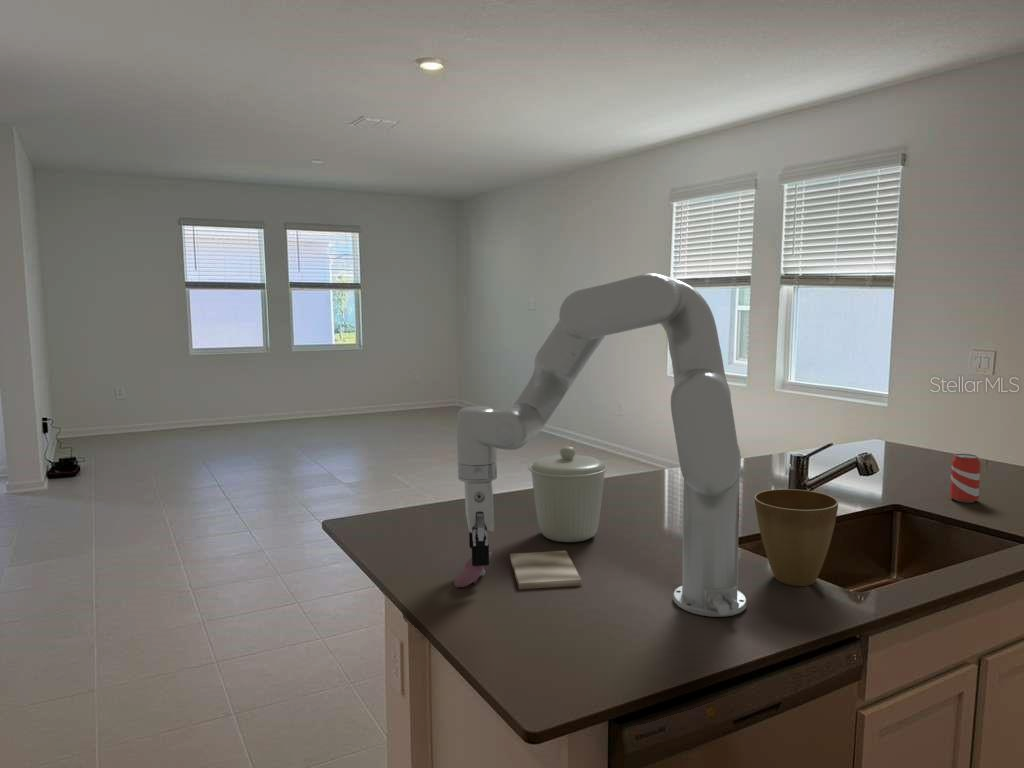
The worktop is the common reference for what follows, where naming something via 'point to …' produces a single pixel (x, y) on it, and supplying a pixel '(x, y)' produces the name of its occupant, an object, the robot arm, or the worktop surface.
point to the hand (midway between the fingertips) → (478, 556)
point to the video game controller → (469, 574)
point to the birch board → (544, 570)
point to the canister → (568, 495)
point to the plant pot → (796, 532)
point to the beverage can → (965, 478)
